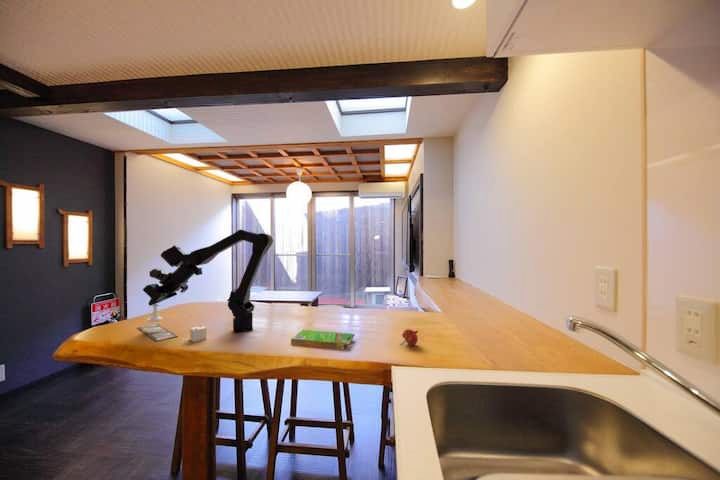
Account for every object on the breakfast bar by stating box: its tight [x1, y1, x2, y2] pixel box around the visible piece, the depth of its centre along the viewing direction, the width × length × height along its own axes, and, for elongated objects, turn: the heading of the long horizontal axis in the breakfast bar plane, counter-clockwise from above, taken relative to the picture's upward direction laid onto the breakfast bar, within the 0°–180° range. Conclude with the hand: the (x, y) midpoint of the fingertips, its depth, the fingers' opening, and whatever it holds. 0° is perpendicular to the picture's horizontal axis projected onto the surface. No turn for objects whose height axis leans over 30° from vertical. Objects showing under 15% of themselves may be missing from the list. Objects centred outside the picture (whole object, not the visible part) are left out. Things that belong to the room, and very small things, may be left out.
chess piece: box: [146, 303, 164, 323], centre depth 101 cm, size 5×5×10 cm
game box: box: [290, 329, 355, 350], centre depth 92 cm, size 3×10×20 cm
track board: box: [137, 323, 179, 343], centre depth 100 cm, size 23×6×1 cm, turn 53°
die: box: [189, 325, 208, 343], centre depth 93 cm, size 4×4×4 cm
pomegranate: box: [400, 328, 419, 347], centre depth 90 cm, size 6×6×8 cm
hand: (151, 304), depth 101 cm, fingers closed on chess piece
